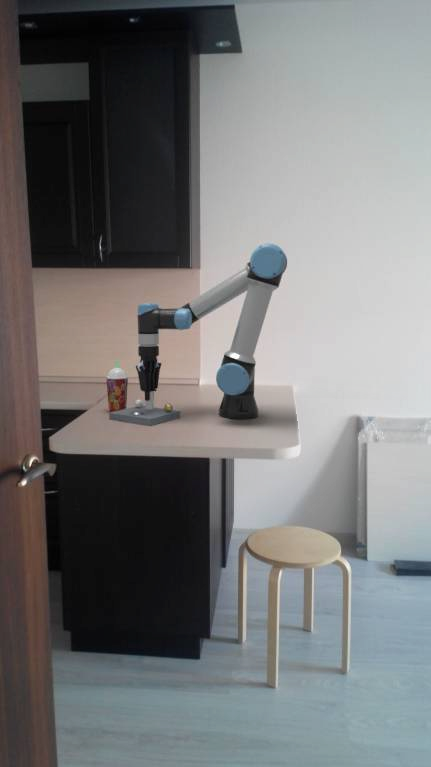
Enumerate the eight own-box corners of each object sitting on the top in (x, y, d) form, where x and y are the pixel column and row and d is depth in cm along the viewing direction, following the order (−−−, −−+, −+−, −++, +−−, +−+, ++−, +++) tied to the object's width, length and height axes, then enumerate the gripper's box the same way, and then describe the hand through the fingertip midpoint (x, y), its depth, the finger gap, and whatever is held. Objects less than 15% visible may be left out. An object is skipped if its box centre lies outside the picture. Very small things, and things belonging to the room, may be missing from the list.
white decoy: (144, 407, 226) (144, 399, 225) (139, 408, 223) (139, 400, 223) (138, 406, 228) (138, 398, 227) (133, 407, 225) (133, 399, 224)
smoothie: (131, 410, 233) (131, 360, 230) (122, 414, 225) (122, 362, 222) (112, 408, 235) (111, 359, 232) (102, 412, 227) (102, 361, 224)
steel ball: (141, 421, 215) (143, 413, 214) (136, 422, 213) (138, 415, 212) (134, 417, 217) (136, 409, 216) (129, 418, 214) (131, 411, 213)
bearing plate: (180, 417, 221) (180, 411, 220) (150, 426, 205) (150, 419, 205) (140, 411, 230) (140, 405, 230) (109, 419, 215) (109, 412, 215)
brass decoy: (174, 411, 219) (174, 403, 218) (169, 413, 216) (169, 404, 215) (167, 410, 220) (167, 402, 220) (162, 412, 218) (162, 403, 217)
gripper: (150, 343, 223) (151, 405, 226) (129, 346, 212) (130, 410, 215) (167, 344, 219) (167, 406, 222) (146, 347, 208) (147, 412, 211)
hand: (149, 408), depth 219 cm, fingers closed
